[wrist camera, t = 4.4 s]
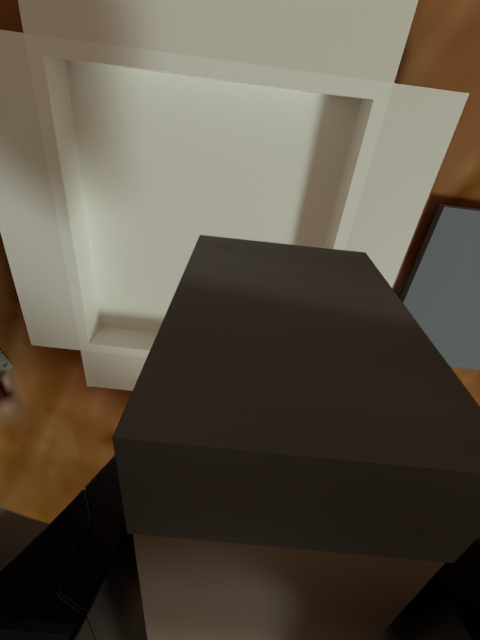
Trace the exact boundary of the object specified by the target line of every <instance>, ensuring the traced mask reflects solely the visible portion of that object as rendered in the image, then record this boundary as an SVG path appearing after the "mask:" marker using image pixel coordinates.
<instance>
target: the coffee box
mask: <svg viewBox="0 0 480 640" xmlns="http://www.w3.org/2000/svg"><path fill="white" fill-rule="evenodd" d="M12 368H13V365H12V364H11V362H10V361H9V360H8V359H7V358H6V356H5V355H4V354H3V353H2V351H1V350H0V381H1V379H2V378H3V377H4V376H5V375H6V374H7V373H8V372H9V371H10V370H11V369H12Z"/></svg>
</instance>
